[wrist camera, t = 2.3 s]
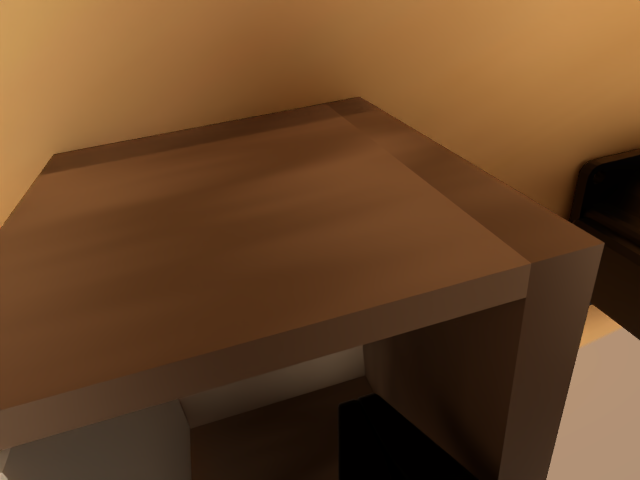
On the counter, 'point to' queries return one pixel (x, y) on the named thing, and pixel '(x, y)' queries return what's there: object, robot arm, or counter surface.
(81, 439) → the cabinet door
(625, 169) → the robot arm
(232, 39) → the counter surface
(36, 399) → the open wooden box
